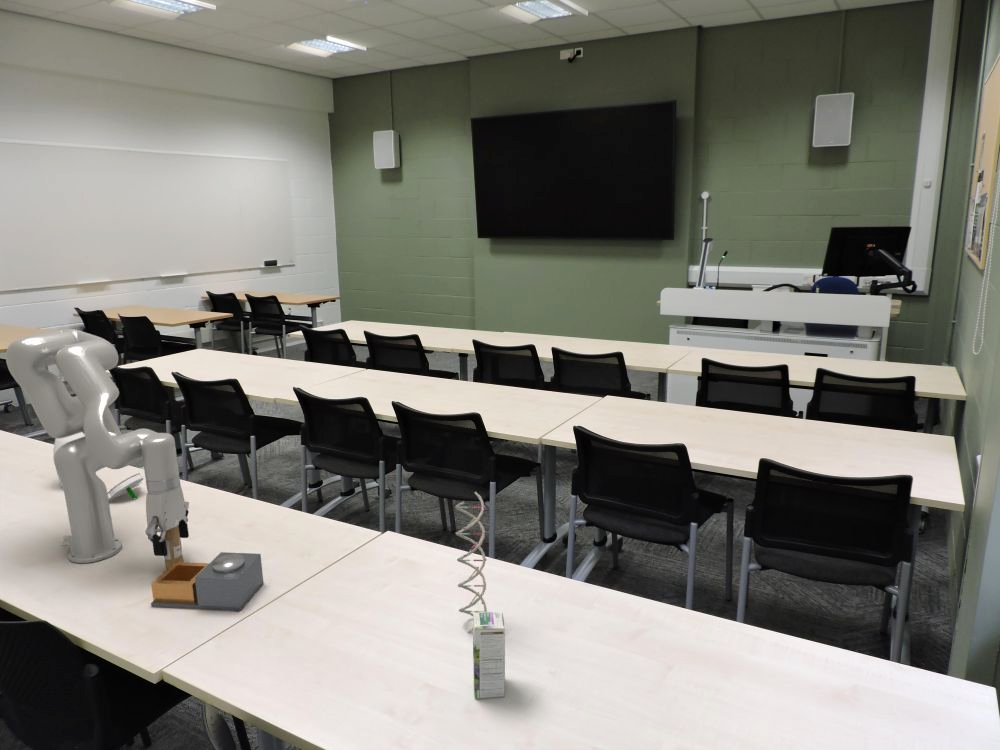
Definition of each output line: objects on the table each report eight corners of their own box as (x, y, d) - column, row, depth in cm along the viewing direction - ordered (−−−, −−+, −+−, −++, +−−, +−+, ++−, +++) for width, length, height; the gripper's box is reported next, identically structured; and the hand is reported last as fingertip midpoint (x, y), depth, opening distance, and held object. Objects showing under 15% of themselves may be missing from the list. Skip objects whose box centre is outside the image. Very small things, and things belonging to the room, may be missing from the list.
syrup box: (473, 679, 134) (471, 611, 130) (503, 677, 134) (502, 610, 131) (474, 699, 128) (472, 629, 125) (506, 697, 129) (505, 627, 125)
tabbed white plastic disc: (131, 485, 231) (142, 459, 227) (149, 499, 230) (160, 473, 226) (93, 503, 217) (104, 476, 213) (112, 518, 216) (123, 491, 212)
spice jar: (185, 568, 178) (179, 519, 175) (166, 573, 175) (159, 524, 172) (182, 561, 181) (176, 513, 178) (163, 566, 179) (156, 517, 176)
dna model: (481, 636, 147) (478, 504, 140) (453, 631, 149) (448, 500, 142) (492, 619, 153) (489, 492, 146) (465, 614, 155) (461, 488, 148)
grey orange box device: (151, 607, 160) (146, 571, 158) (186, 574, 175) (182, 541, 173) (240, 611, 158) (236, 575, 156) (268, 577, 173) (265, 544, 170)
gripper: (168, 470, 182) (177, 530, 186) (127, 496, 165) (137, 562, 169) (196, 470, 181) (203, 531, 185) (157, 497, 164) (166, 563, 168)
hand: (172, 546), depth 177 cm, fingers open, 9 cm apart
